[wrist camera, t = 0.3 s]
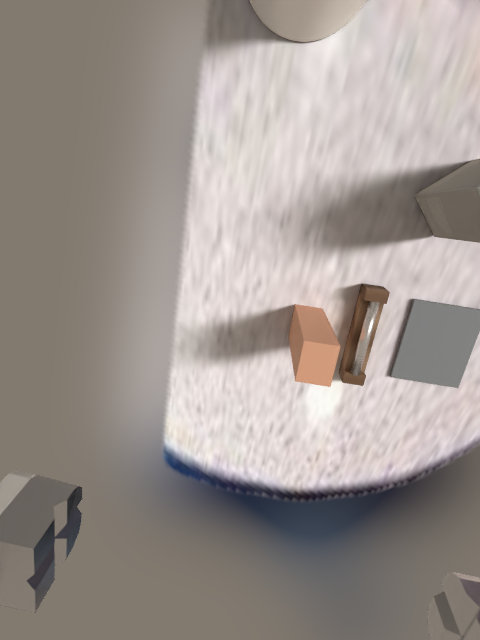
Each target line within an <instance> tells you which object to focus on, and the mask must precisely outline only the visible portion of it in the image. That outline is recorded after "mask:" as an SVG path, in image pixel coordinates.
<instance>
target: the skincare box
mask: <svg viewBox="0 0 480 640" xmlns="http://www.w3.org/2000/svg"><path fill="white" fill-rule="evenodd" d="M415 198H416V200H417V202H418V204H419V206H420V208H421V210H422V212H423V214H424V216H425V218H426V221H427V223H428V225H429V227H430V229H431V231H432V233H433V235H434V237H439V238H448V239H456V240H464V241H472V242H480V159H476V160H472V161H470V162H469V163H467V164H465V165H464V166H462V167H460V168H459V169H457V170H455V171H453V172H452V173H450V174H448V175H447V176H445V177H443V178H442V179H440V180H438V181H437V182H435V183H433V184H432V185H430V186H428V187H427V188H425V189H423V190H422V191H420V192H418V193H417V194H415Z"/></svg>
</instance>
